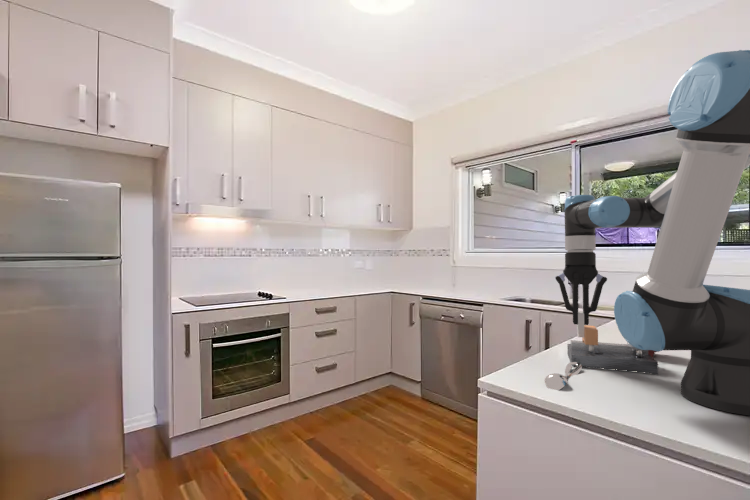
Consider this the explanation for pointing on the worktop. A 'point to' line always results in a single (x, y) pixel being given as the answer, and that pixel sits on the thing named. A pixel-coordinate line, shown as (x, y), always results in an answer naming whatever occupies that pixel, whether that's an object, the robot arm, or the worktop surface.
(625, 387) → the worktop surface
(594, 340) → the block
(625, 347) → the bar
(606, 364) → the hole plate
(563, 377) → the grey spoon
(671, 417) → the worktop surface
